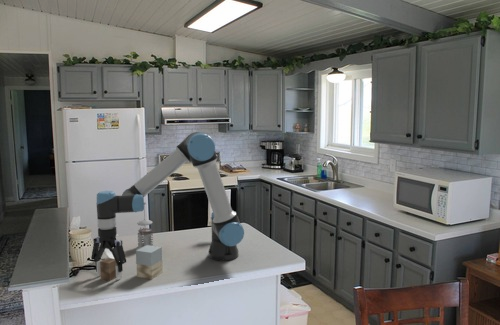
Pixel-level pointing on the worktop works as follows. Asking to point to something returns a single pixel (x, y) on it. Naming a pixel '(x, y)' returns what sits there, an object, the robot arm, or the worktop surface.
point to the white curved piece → (109, 252)
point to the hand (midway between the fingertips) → (109, 277)
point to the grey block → (148, 255)
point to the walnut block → (108, 269)
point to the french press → (145, 233)
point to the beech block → (149, 270)
